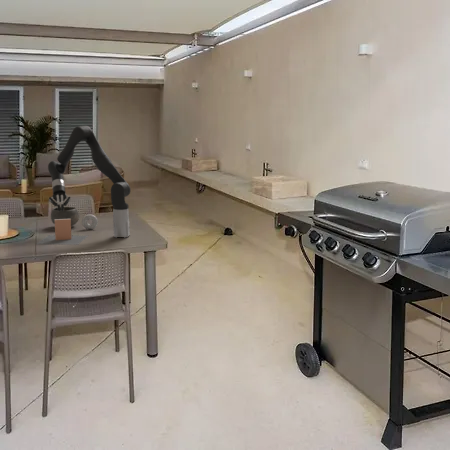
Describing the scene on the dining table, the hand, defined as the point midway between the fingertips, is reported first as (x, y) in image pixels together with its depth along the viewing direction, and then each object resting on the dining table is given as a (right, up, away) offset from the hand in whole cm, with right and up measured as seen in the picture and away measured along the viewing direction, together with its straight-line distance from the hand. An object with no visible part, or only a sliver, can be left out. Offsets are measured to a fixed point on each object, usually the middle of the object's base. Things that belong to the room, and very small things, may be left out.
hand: (61, 210), depth 322 cm
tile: (+4, -17, -7) cm, 19 cm away
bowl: (-7, -10, +31) cm, 34 cm away
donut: (+11, -12, +25) cm, 30 cm away
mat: (+4, -18, -8) cm, 20 cm away
